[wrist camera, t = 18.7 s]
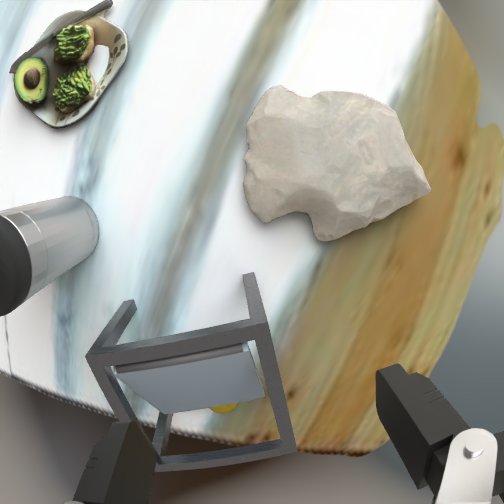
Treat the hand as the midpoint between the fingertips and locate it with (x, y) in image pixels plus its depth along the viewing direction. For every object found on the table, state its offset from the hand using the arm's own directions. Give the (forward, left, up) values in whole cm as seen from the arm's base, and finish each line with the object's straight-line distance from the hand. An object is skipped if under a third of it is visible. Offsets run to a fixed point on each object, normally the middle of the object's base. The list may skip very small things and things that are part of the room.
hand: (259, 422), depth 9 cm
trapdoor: (-8, -14, -23) cm, 28 cm away
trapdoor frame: (-8, -15, -34) cm, 38 cm away
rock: (+15, +5, -34) cm, 37 cm away
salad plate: (-18, +29, -34) cm, 48 cm away
